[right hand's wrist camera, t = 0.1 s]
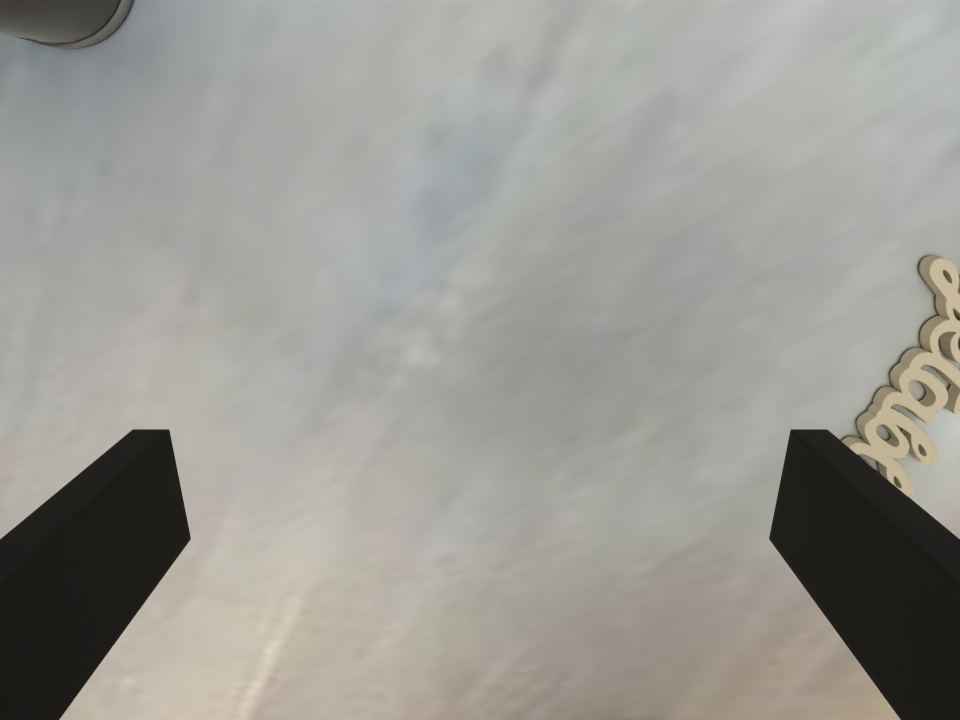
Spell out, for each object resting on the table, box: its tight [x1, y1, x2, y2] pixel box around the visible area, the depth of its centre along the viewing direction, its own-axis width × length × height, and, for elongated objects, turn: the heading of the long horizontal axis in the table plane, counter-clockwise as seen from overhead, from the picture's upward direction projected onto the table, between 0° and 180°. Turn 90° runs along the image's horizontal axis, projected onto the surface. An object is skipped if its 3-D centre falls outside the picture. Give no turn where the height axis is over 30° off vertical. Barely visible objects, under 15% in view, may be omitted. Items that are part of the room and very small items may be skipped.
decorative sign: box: [841, 256, 960, 496], centre depth 41 cm, size 26×1×10 cm
